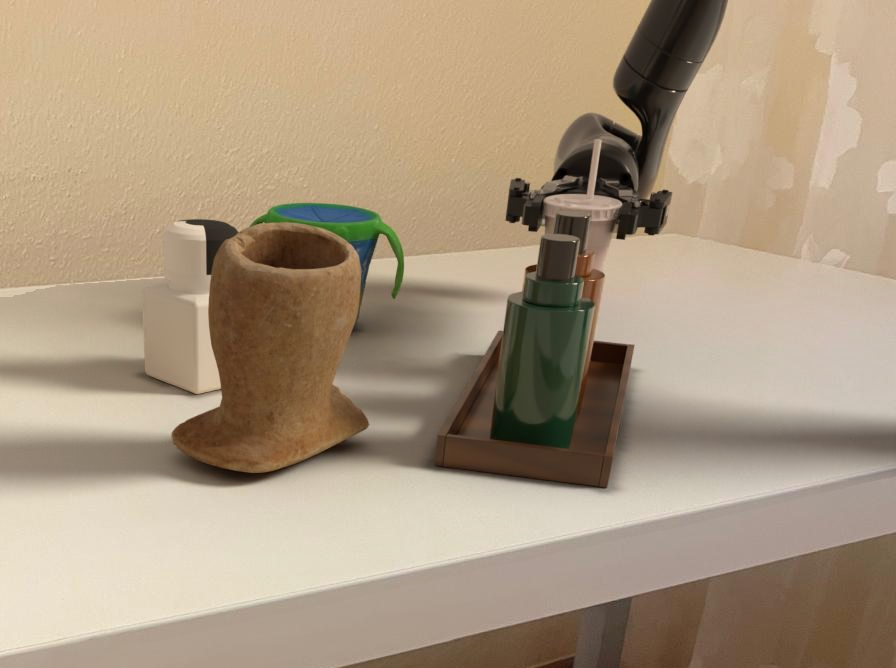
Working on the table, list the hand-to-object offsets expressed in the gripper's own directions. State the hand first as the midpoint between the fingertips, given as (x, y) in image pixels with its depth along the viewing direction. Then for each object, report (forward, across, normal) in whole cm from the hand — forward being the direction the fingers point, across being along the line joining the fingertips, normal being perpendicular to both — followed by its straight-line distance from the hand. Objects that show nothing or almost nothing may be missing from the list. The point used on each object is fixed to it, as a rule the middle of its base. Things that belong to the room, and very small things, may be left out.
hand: (578, 221), depth 95 cm
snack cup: (-11, -24, +13) cm, 29 cm away
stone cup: (+25, -17, +13) cm, 33 cm away
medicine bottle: (+10, -28, +13) cm, 33 cm away
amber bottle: (+8, 0, +12) cm, 15 cm away
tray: (+8, 0, +13) cm, 15 cm away
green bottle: (+18, 0, +12) cm, 22 cm away
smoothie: (-2, 0, +9) cm, 9 cm away
